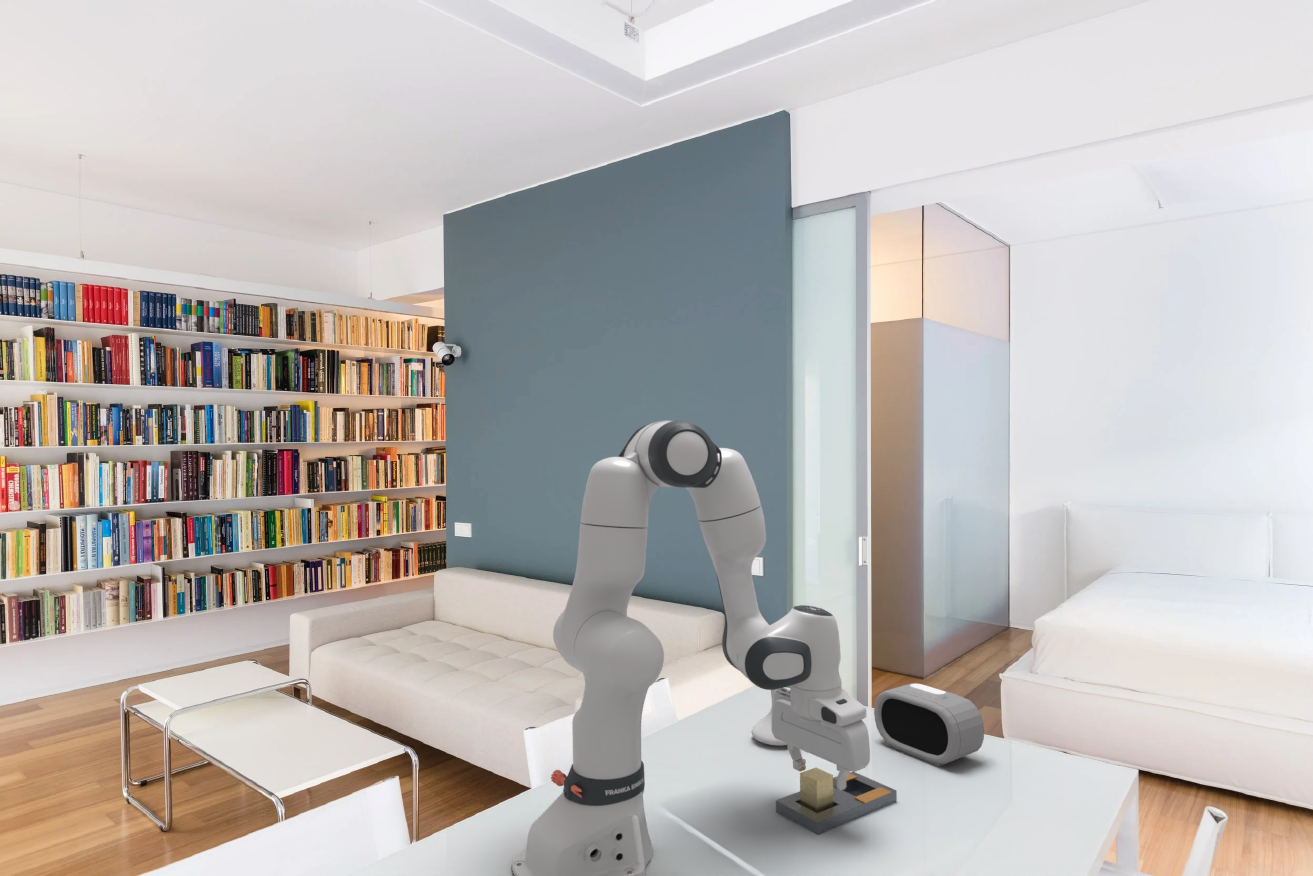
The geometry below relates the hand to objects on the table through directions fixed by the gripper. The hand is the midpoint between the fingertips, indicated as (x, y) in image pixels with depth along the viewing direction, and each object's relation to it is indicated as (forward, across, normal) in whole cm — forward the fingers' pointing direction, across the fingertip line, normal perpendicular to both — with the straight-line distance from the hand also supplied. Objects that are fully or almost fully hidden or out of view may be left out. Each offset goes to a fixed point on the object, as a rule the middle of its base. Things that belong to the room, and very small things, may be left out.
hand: (819, 778), depth 135 cm
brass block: (+6, 0, -1) cm, 6 cm away
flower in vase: (+8, -30, +19) cm, 36 cm away
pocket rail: (+7, 0, +4) cm, 8 cm away
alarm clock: (+8, -7, +39) cm, 41 cm away
